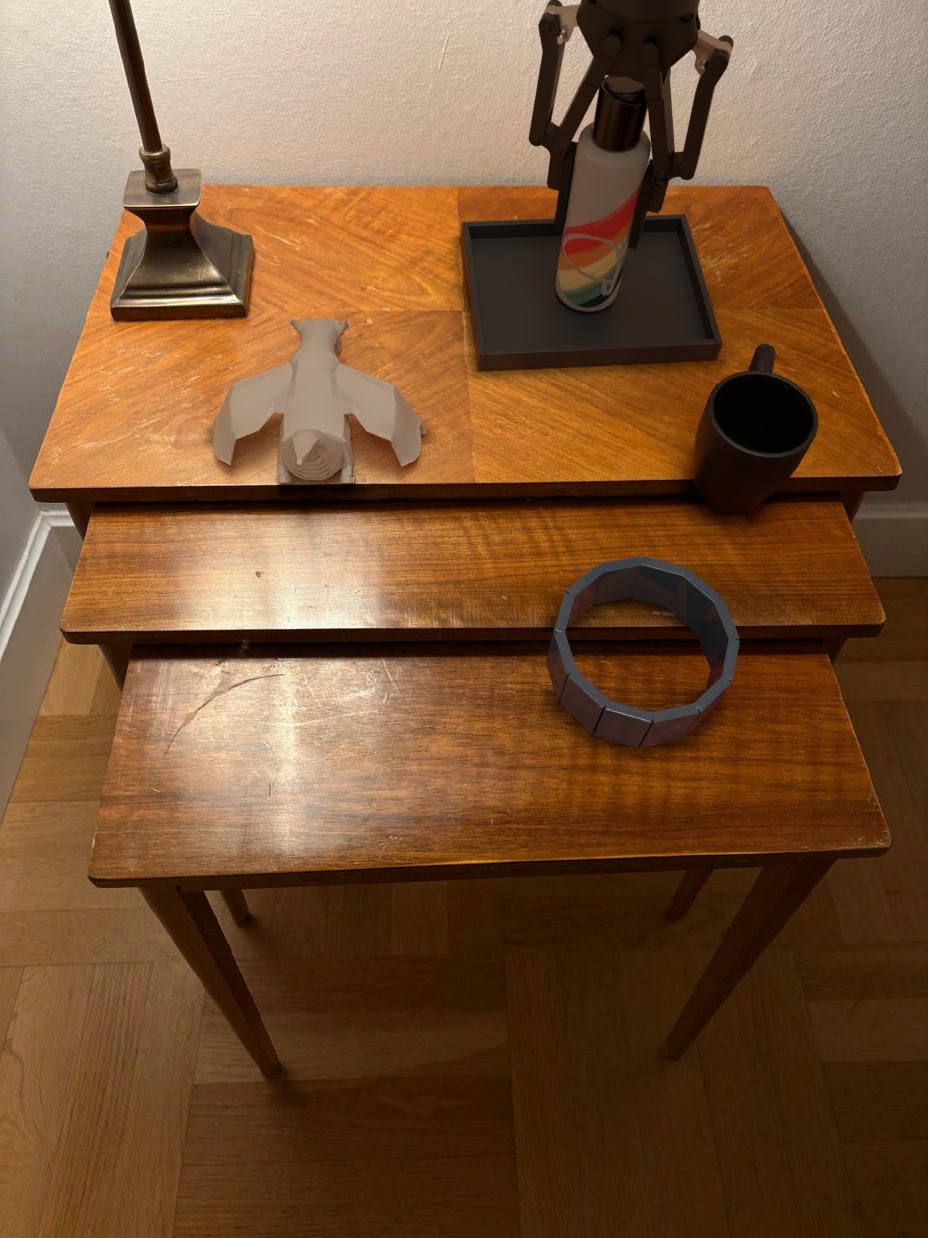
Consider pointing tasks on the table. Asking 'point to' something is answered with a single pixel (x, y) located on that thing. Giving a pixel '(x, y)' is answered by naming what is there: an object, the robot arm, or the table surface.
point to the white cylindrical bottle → (604, 196)
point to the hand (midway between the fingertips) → (598, 228)
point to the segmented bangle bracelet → (658, 588)
